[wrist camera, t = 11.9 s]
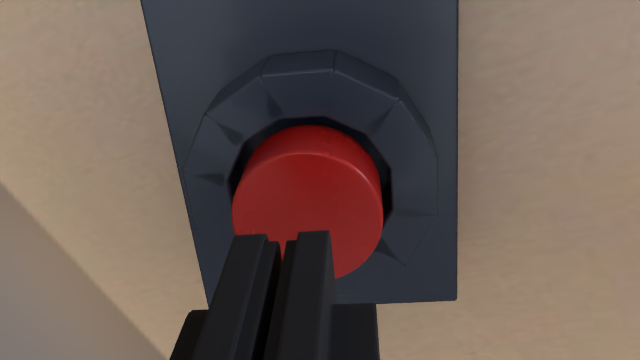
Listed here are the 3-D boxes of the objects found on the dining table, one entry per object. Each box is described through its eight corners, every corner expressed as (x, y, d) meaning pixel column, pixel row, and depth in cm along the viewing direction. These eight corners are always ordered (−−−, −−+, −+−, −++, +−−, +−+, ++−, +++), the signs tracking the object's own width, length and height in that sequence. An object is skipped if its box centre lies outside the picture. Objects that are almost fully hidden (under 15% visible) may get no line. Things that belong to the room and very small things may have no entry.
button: (384, 242, 16) (387, 281, 14) (254, 249, 16) (243, 287, 15) (376, 118, 14) (379, 145, 13) (232, 128, 15) (218, 156, 13)
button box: (445, 254, 21) (467, 340, 17) (225, 265, 22) (195, 350, 18) (444, -45, 17) (472, -25, 13) (168, -19, 17) (111, 8, 13)
